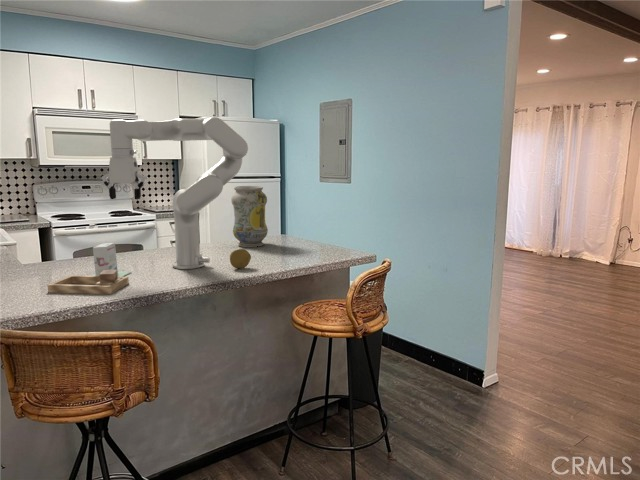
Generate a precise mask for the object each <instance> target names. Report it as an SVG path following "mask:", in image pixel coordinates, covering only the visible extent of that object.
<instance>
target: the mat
mask: <svg viewBox="0 0 640 480" xmlns="http://www.w3.org/2000/svg"><path fill="white" fill-rule="evenodd" d="M117 271H118V273H117V275H118V277H127V276H128V275H129V274H131V273H132V271H124V270H123V271H121V270H117ZM90 276H96V274H95V273H93V274H92V275H90Z"/></svg>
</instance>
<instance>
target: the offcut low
mask: <svg viewBox="0 0 640 480" xmlns="http://www.w3.org/2000/svg"><path fill="white" fill-rule="evenodd" d="M120 279H121V278H117V280H116V281H118V280H120ZM116 281H115V282H116ZM110 284H112V283H100V282H97V283H96V284H95V285H104V286H108V285H110Z"/></svg>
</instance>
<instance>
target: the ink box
mask: <svg viewBox="0 0 640 480" xmlns="http://www.w3.org/2000/svg"><path fill="white" fill-rule="evenodd" d="M92 253H93V262H94V272H95V273H94V274H96V276H99V274H100V273H101V272H102V271H103V270H117V273H118V271H119V270H118V264H117V263H118V262H117V260H118V259H117V252H116V243H115V242H103V243H101V244H100V243H99V244H98V245H95V246H93V247H92Z"/></svg>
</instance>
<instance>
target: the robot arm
mask: <svg viewBox="0 0 640 480" xmlns="http://www.w3.org/2000/svg"><path fill="white" fill-rule="evenodd" d="M109 132H110V133H109V136H110V148H111V150H110V151H111V157H109V164H108V165H109V166H108V172H107V173H105V175H102V176H101V180H102V182H103V185H105V186H106V188H107V189H108V193H109V198H110V200H116V199H117V189H116V188H115V187H116V185H117V184H118V185H119V184H120V185H121V184H122V185H123V184H125V185H130V184H131V185H132V186H134V189H133V191H134V199H135V200H141V197H142V194H141V193H142V191H141V189H142V188H143V187H144V185H145V184H146V182H147V176H145V175H143V174H141V173H140V171H139V166H138V161H137V158H136V157H134V155H137V150H135V149H134V147H133V145H134V144H133V140H138V141H141V142H150V141H151V142H152V141H153V142H155V141H156V142H157V141H173V142H174V141H175V142H182V141H183V142H184V141H186V142H187V141H213V142H214V143H216V144H217V145H218V147H220V149H222V157H221V159H220V161H218V162H217V163H215V165H214V166H212V167H211V168H210V169H208V170H207V171H206V172H204V173H202V174H200V175H199V176H198V177H197V179H196V180H195V182H194V183H193V184H191V185H190V186H188V187H187V188H182V189H179V190H177V191H176V193H175V194H174V195H173V199H172V209H173V219H174V239H175V262H172V265H171V266H172V268H174V269H175V270H176V269H177V270H179V269H180V270H194V269H199V268H201V267H204V266H205V264H206V263H207V264H208V263H211V259H210V257H209V256H208V257H207V256H205V257H204V256H203V254H202V253H201V249H200V248H201V247H200V222H199V221H200V219H199V212H200V211H201V210H202V209H204V208H205V207H206V206H208V205H209V204H210V203H211V202H213V201H214V200H216V199H217V198H218V197H219V196H220V195H221V194H222V192H223V189H224V188H223V187H224V186H225V185H226V184H227V183H229V182H230V181H231V180H233V178H235V177H236V176H237V174H238V173H239V172H240V171H241V167H242V164H243V158H245V156H247V153H248V151H249V147H248V143H247V141H246V140H245V139H244V137H242V136H241V135H240V134H238V133H237V132H236V131H235V130H234V129H233V128H232V127H231V126H229V125H228V123H226V122H225V121H224V120H223V119H221V118H219V117H218V116H217V117H216V116H212V117H209V118H183V117H182V118H174V119H170V120H163V121H159V120H158V121H149V120H147V119H146V120H145V119H135V120H127V119H112V120H110V122H109ZM108 179H109V181H108Z"/></svg>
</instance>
